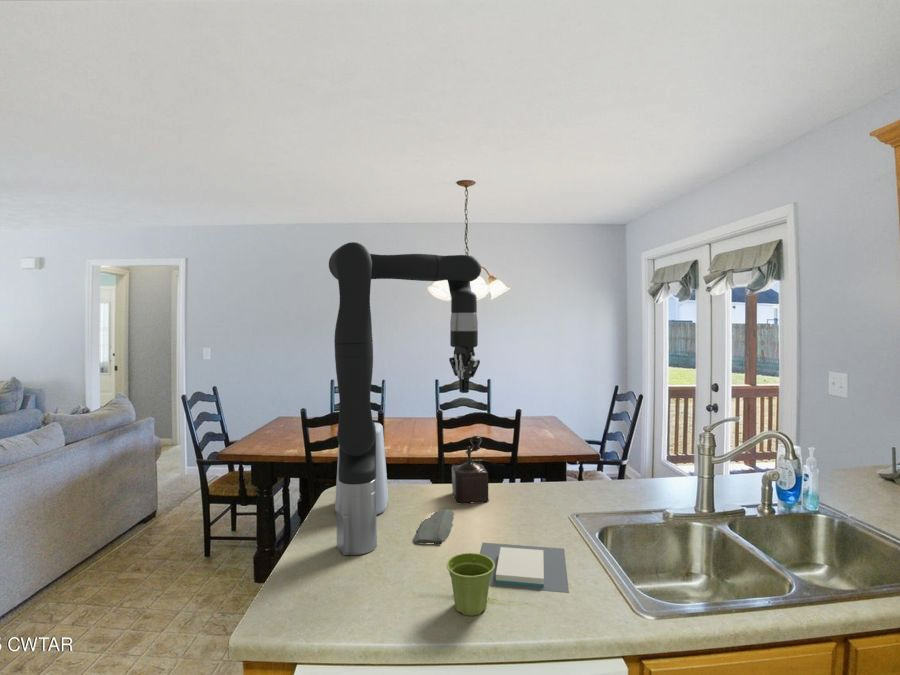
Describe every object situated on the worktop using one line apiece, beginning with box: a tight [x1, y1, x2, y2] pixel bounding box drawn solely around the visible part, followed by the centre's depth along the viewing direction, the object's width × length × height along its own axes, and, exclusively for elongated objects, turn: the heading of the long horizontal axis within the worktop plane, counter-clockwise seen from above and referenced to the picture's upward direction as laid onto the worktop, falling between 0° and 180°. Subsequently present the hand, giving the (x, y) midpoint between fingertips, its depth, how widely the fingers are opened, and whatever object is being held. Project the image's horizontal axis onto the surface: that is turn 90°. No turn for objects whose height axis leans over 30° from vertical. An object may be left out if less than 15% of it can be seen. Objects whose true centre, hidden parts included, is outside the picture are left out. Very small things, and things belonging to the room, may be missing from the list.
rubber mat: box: [479, 542, 570, 594], centre depth 111 cm, size 20×20×1 cm
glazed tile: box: [496, 547, 544, 587], centre depth 109 cm, size 2×10×13 cm
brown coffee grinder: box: [451, 435, 490, 504], centre depth 160 cm, size 16×11×18 cm
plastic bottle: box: [334, 422, 389, 516], centre depth 149 cm, size 15×15×28 cm
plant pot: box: [446, 552, 495, 617], centre depth 96 cm, size 9×9×9 cm
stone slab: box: [412, 508, 455, 545], centre depth 135 cm, size 22×3×10 cm
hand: (464, 392), depth 135 cm, fingers closed
